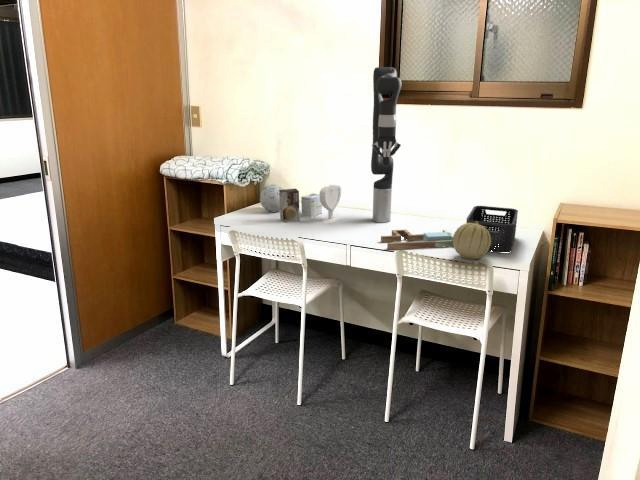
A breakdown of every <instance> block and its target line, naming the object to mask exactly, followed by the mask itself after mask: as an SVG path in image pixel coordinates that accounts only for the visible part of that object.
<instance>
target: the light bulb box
mask: <svg viewBox="0 0 640 480" xmlns="http://www.w3.org/2000/svg"><path fill="white" fill-rule="evenodd" d="M319 195H320V193H310V194H305V195H303V196H301V197H300V199H301V200H300V201H301V216H302V217H307V218H313V217H317V216H319V215H322V214H323V206H322V205H321V202H320V196H319Z"/></svg>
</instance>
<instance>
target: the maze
mask: <svg viewBox="0 0 640 480" xmlns="http://www.w3.org/2000/svg"><path fill="white" fill-rule="evenodd" d="M442 232H446V233H447V234H448V235H450V240H441V241H423V237H424V233H421V234H412V233H411V232H410V231H409V230H407V229H395V230H394V229H392V230H391V235H381V236H380V243H387V247H386V248H387V250H389V251H390V250H391V251H393V250H399V249H398V248H406V249H407V250H409V249H426V248H425V247H431V248H443V247H442V246H452V247H454V246H453V236H454V234H452V233H451V231H449V230H447V229H442ZM401 236H402V237H404V240H403V241H402V240H401ZM406 239H407V240H406ZM415 240H421V241H415ZM394 241H401V242H394ZM405 241H406V242H405ZM406 249H405V250H406Z"/></svg>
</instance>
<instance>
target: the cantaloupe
mask: <svg viewBox="0 0 640 480" xmlns="http://www.w3.org/2000/svg"><path fill="white" fill-rule="evenodd" d="M453 235H454V236H453V246H452V247H453V248H454V250H455V252H456V253H457V254H458V255H459V256H461V257H463V258H465V259H468V260H469V259H471V260H477V259H479V258H481V257H483V256H485V255H486V254H487V253H489V252H488V250H489V248H490V245H491V236H490V233H489V231H488V230H487V229H486V228H485V227H483V226H482V225H479V224H478V222H477V221H476V223H467V222H466V223H463V224H461V225H460V226H459V227H458V228H457V229H456V231H455V232H454V234H453Z"/></svg>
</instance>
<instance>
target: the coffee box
mask: <svg viewBox="0 0 640 480" xmlns="http://www.w3.org/2000/svg"><path fill="white" fill-rule="evenodd" d="M299 192H300V190H298V189H297V188H285V189H284V188H283V190H279V196H280V211H279V215H280V217H279V218H280V221H281V222H282V223H283V222H284V223H291V222H293V223H294V222H300V220H301V219H300V217H301V215H300V214H301V213H300V193H299Z"/></svg>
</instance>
